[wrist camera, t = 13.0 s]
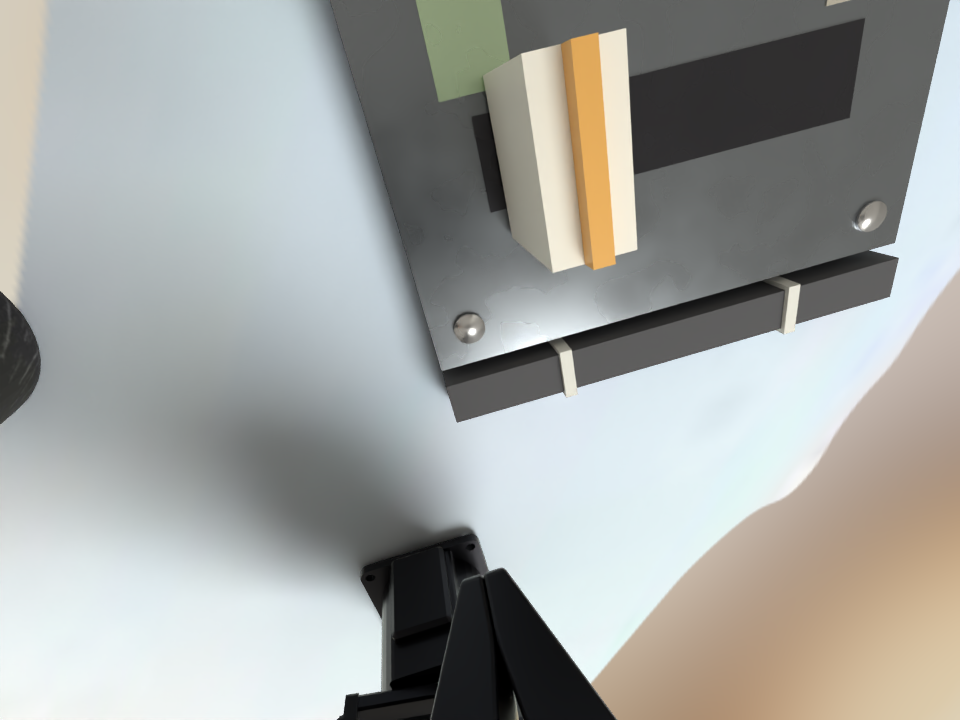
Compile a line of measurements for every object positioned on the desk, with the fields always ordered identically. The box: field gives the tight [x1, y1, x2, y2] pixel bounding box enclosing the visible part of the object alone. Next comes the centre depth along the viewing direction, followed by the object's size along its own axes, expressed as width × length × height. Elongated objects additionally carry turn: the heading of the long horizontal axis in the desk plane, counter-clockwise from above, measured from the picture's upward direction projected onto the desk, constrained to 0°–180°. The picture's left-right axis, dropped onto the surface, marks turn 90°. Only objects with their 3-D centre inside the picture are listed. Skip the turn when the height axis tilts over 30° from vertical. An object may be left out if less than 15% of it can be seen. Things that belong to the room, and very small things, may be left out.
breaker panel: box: [330, 0, 950, 371], centre depth 16 cm, size 14×20×2 cm
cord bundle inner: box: [443, 250, 899, 422], centre depth 20 cm, size 2×20×2 cm, turn 102°
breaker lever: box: [483, 28, 637, 273], centre depth 13 cm, size 5×2×5 cm, turn 12°
